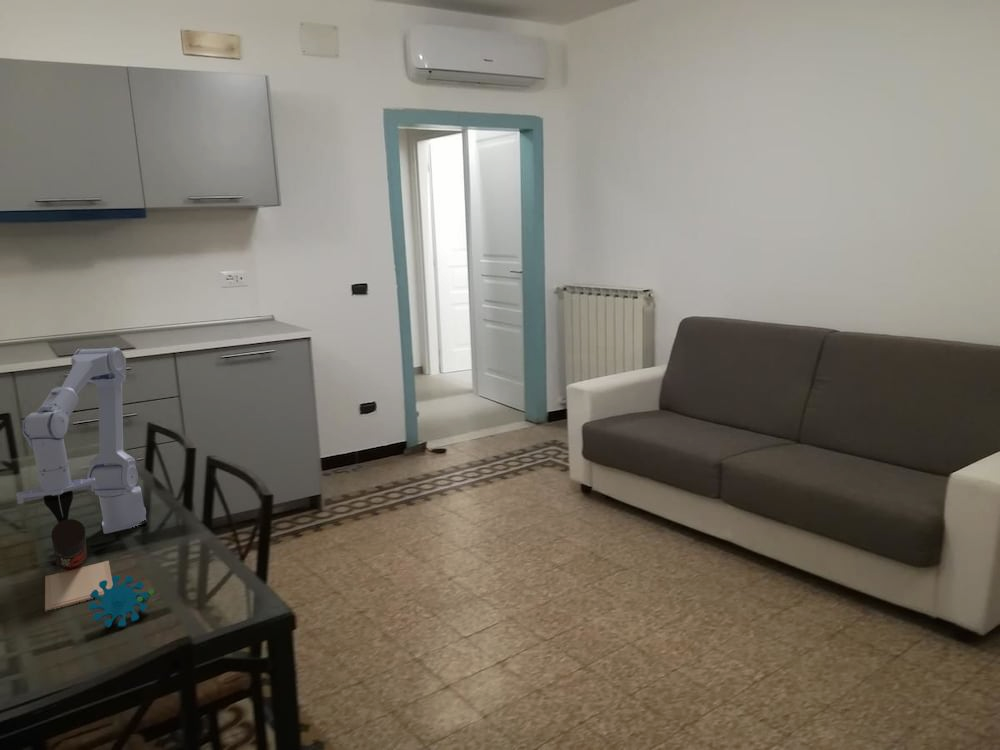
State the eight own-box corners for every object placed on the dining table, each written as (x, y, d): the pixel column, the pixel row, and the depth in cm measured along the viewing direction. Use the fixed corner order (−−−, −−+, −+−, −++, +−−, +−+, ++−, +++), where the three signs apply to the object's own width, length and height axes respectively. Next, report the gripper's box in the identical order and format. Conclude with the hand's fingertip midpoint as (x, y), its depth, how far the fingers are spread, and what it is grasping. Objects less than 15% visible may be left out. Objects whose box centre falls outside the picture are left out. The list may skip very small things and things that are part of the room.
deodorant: (55, 572, 158) (52, 549, 146) (54, 546, 160) (50, 521, 149) (87, 567, 161) (86, 544, 149) (85, 541, 163) (84, 517, 152)
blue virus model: (91, 630, 132) (86, 578, 137) (89, 642, 136) (84, 591, 141) (158, 617, 139) (151, 567, 143) (154, 628, 143) (147, 580, 147)
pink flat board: (109, 562, 162) (108, 560, 162) (114, 593, 148) (114, 590, 148) (45, 578, 156) (45, 575, 156) (45, 611, 143) (45, 609, 142)
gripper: (11, 479, 149) (24, 541, 152) (92, 464, 156) (103, 523, 159) (13, 470, 155) (25, 529, 158) (90, 455, 162) (101, 513, 165)
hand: (64, 526), depth 159 cm, fingers closed
